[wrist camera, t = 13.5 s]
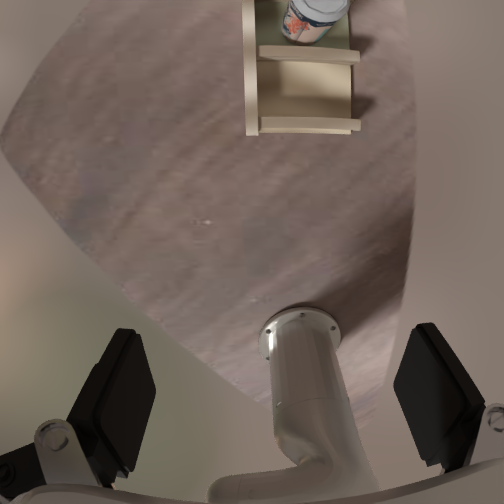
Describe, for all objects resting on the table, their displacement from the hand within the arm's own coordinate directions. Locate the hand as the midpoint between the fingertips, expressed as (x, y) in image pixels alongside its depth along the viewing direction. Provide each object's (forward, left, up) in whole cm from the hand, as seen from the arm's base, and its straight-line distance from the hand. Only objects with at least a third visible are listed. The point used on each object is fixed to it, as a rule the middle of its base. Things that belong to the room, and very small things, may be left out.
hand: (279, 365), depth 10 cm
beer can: (+18, -5, -29) cm, 34 cm away
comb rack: (+14, -5, -30) cm, 33 cm away
